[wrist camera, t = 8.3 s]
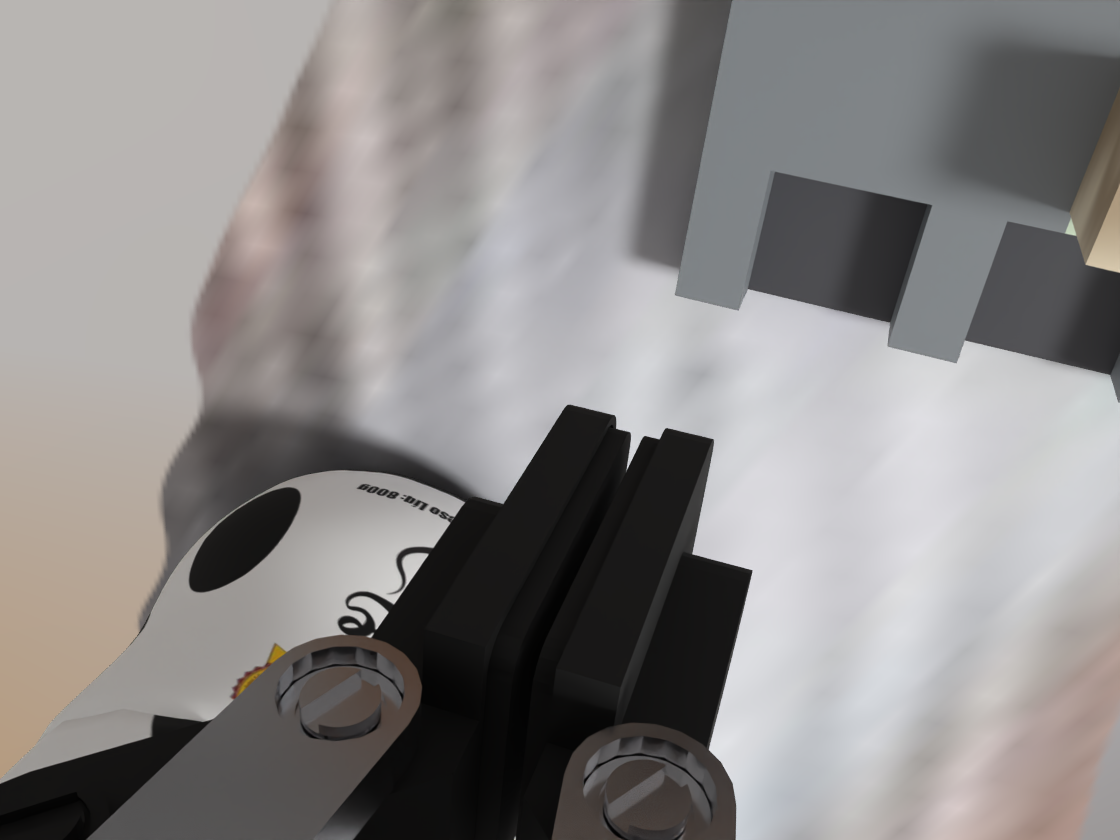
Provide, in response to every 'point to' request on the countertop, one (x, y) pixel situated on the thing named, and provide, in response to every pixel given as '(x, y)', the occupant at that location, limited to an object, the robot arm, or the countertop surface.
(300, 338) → the countertop surface
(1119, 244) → the maple cube
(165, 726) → the milk container
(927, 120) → the trap board
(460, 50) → the countertop surface
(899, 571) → the countertop surface
